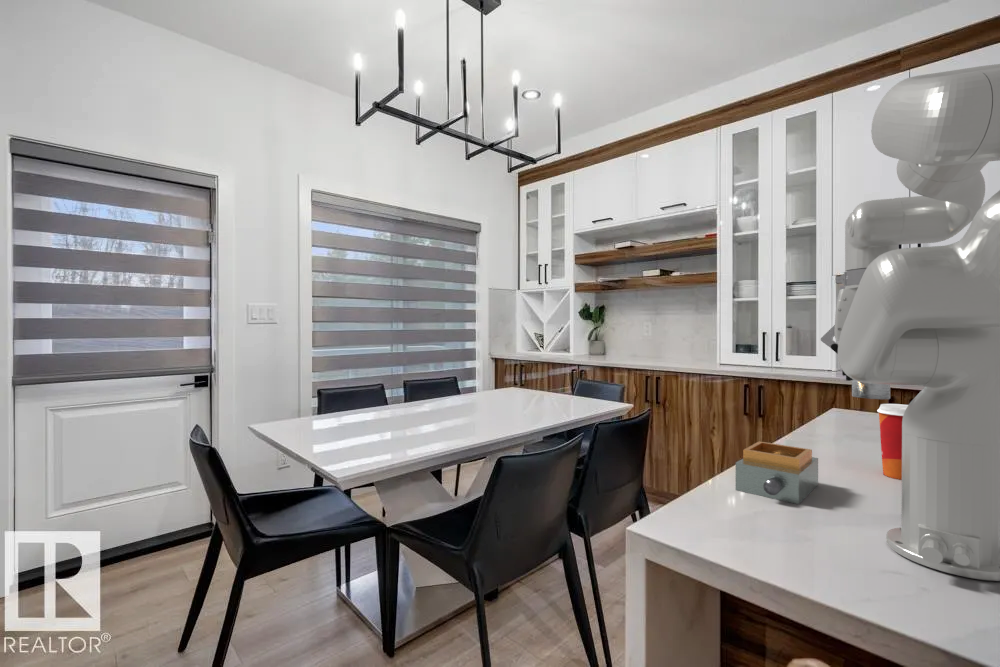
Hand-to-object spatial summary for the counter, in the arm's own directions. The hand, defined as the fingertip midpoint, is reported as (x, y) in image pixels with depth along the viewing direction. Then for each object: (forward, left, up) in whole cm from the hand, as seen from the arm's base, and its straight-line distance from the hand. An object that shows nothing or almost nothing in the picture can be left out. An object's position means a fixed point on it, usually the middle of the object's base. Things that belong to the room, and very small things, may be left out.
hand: (870, 380), depth 84 cm
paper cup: (+15, -3, -20) cm, 26 cm away
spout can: (0, 0, -3) cm, 3 cm away
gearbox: (-10, +13, -20) cm, 26 cm away
